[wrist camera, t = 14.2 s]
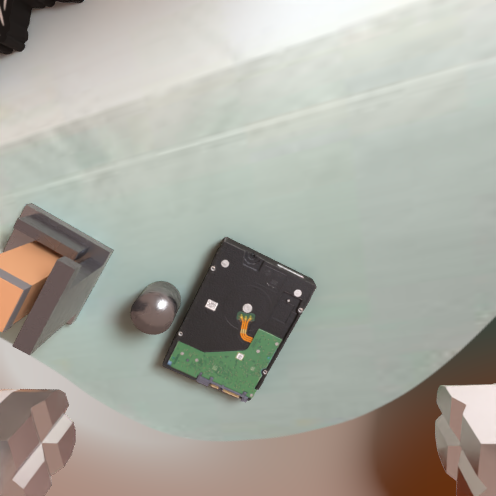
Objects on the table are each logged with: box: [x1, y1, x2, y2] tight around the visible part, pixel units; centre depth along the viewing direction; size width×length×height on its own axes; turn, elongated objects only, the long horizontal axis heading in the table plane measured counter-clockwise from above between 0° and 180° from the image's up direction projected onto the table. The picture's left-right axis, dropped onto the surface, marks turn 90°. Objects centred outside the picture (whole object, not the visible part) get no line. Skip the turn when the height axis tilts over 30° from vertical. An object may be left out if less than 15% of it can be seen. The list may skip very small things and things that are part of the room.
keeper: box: [3, 203, 114, 355], centre depth 34 cm, size 9×10×10 cm
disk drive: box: [163, 237, 316, 402], centre depth 39 cm, size 10×3×15 cm
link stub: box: [131, 281, 181, 335], centre depth 38 cm, size 4×4×4 cm
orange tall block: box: [0, 240, 76, 332], centre depth 33 cm, size 4×4×9 cm
